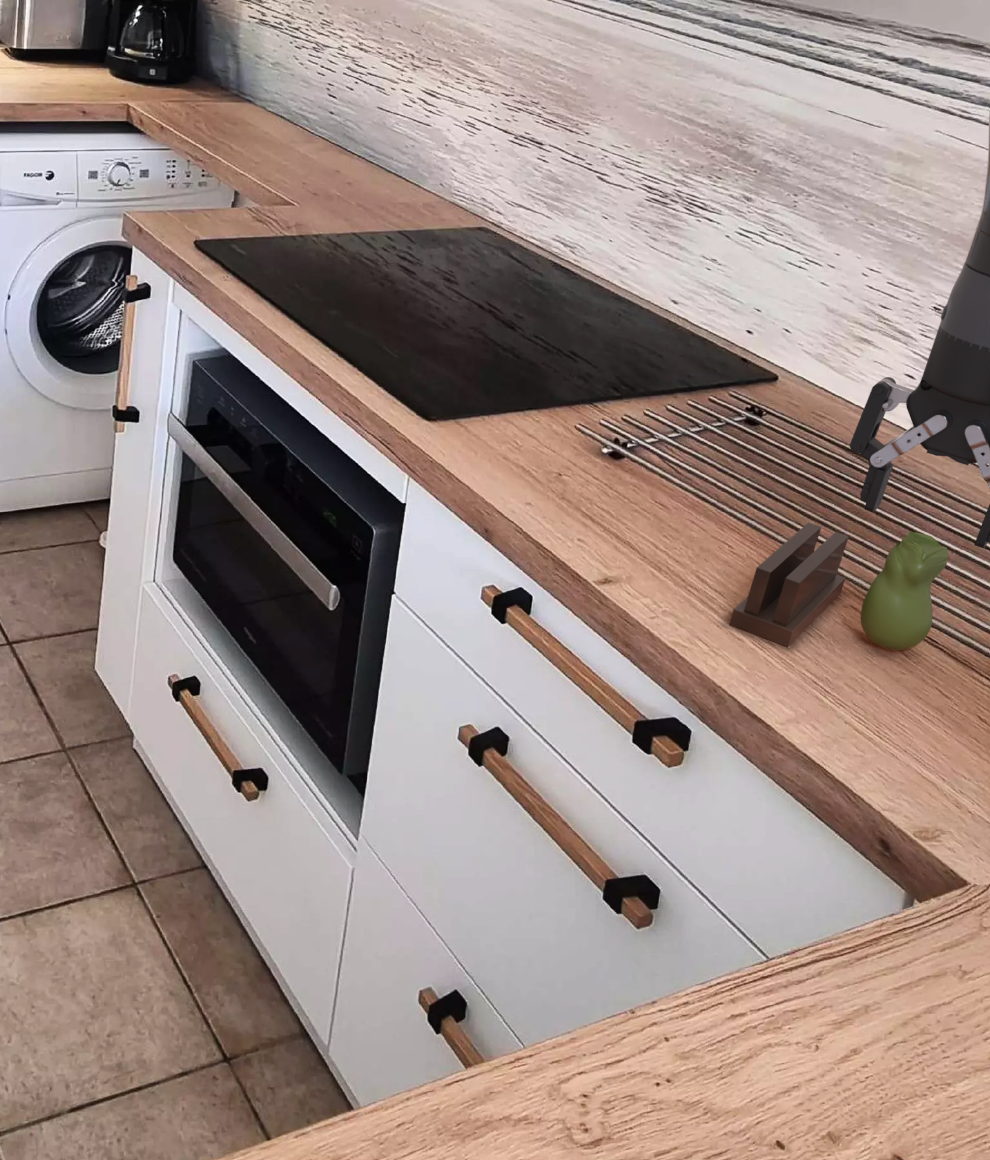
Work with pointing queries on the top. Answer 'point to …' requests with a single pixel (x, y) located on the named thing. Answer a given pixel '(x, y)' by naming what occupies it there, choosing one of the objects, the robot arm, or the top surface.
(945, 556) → the pear
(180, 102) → the top surface
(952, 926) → the top surface
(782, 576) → the holder
